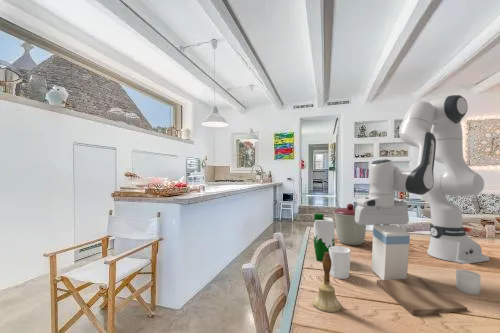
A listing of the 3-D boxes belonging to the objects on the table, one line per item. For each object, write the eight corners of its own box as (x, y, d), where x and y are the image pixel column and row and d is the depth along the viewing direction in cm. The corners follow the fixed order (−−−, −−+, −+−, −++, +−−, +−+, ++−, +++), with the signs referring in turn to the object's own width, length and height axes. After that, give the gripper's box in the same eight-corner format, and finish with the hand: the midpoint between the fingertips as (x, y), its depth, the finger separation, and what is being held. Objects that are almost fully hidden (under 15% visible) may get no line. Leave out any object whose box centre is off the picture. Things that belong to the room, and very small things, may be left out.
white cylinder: (468, 286, 84) (468, 269, 84) (485, 296, 78) (485, 277, 78) (451, 287, 84) (451, 269, 84) (467, 296, 78) (467, 277, 78)
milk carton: (313, 254, 116) (313, 212, 116) (333, 255, 114) (332, 212, 114) (314, 261, 108) (314, 216, 108) (336, 262, 106) (335, 216, 106)
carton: (392, 268, 97) (394, 224, 95) (407, 280, 89) (410, 233, 87) (371, 269, 97) (373, 225, 95) (384, 281, 88) (386, 233, 86)
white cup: (348, 281, 89) (348, 254, 89) (326, 276, 93) (326, 250, 93) (352, 273, 95) (352, 247, 95) (331, 269, 100) (331, 244, 99)
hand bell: (333, 296, 79) (332, 247, 79) (346, 311, 71) (345, 256, 71) (308, 298, 78) (308, 248, 78) (319, 313, 70) (318, 258, 70)
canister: (346, 249, 122) (345, 207, 122) (326, 238, 140) (326, 202, 140) (377, 246, 126) (376, 205, 126) (354, 236, 144) (353, 200, 144)
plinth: (420, 282, 87) (420, 278, 87) (467, 312, 69) (467, 307, 69) (376, 284, 87) (376, 279, 87) (412, 315, 69) (412, 309, 69)
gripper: (401, 199, 100) (402, 232, 100) (352, 199, 99) (353, 233, 99) (412, 201, 94) (412, 237, 94) (360, 202, 93) (360, 238, 93)
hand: (381, 235), depth 96 cm, fingers closed
